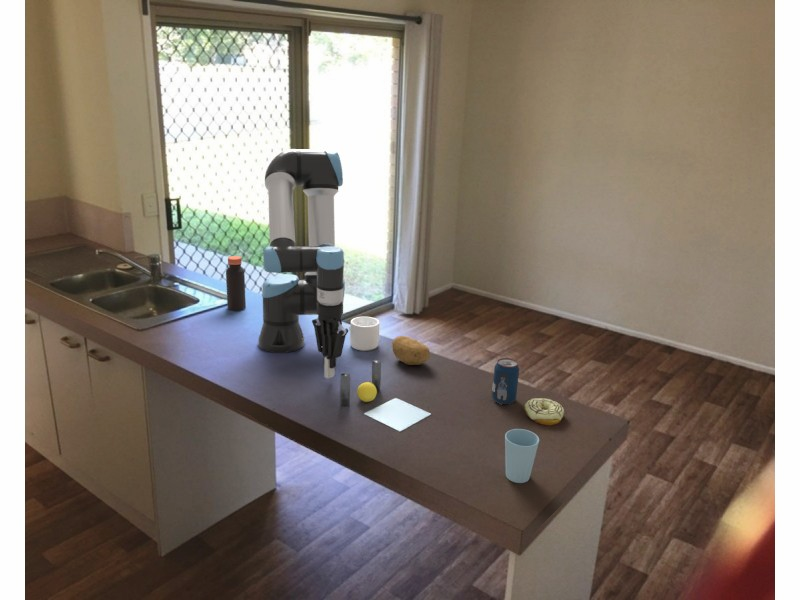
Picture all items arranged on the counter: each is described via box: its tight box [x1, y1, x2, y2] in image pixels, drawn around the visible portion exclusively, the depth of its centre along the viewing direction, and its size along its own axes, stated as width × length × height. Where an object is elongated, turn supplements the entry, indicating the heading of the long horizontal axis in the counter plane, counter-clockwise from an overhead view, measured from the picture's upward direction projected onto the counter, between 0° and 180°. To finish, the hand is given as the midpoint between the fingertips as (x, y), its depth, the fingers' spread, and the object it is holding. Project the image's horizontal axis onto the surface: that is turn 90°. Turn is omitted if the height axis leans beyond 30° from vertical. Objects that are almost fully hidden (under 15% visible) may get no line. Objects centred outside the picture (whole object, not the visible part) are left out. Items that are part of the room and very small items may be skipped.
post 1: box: [339, 372, 351, 408], centre depth 180 cm, size 3×3×9 cm
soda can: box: [491, 357, 520, 405], centre depth 186 cm, size 7×7×12 cm
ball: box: [356, 381, 378, 403], centre depth 183 cm, size 6×6×6 cm
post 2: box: [371, 359, 382, 393], centre depth 189 cm, size 3×3×9 cm
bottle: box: [225, 255, 247, 312], centre depth 247 cm, size 7×7×20 cm
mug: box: [348, 316, 381, 352], centre depth 220 cm, size 12×10×9 cm
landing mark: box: [363, 397, 432, 433], centre depth 178 cm, size 13×13×1 cm
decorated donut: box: [524, 397, 565, 426], centre depth 180 cm, size 10×11×4 cm
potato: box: [391, 335, 431, 366], centre depth 208 cm, size 10×14×8 cm
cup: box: [504, 428, 540, 484], centre depth 151 cm, size 8×8×10 cm
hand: (329, 376), depth 193 cm, fingers closed
